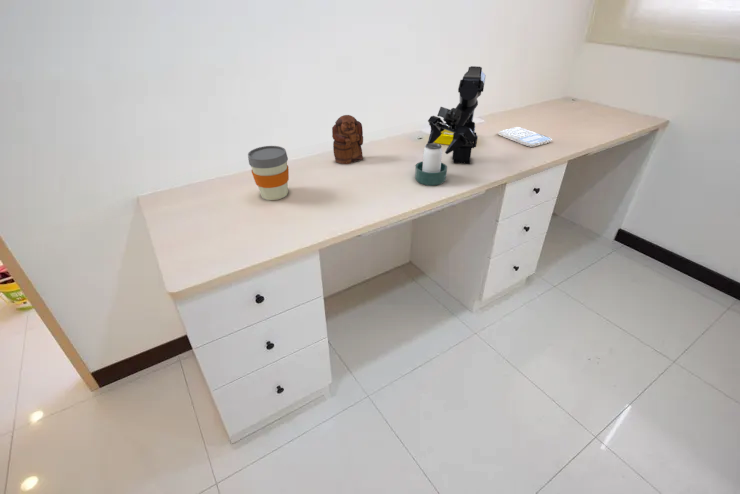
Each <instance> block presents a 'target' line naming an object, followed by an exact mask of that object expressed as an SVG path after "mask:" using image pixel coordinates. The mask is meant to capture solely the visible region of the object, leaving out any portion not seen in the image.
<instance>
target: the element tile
mask: <svg viewBox="0 0 740 494" xmlns="http://www.w3.org/2000/svg"><path fill="white" fill-rule="evenodd" d="M448 128H449V127H448ZM441 133H442V134H441V135H440V136H439V137H438V138H437V139H436V140H435V141H434V142H433V143H436V144H440V145H446V146H449V145H450V144H451V142H452V141H453V134H454V133H453V132H450V131H448V130H445V129H444V131H442V132H441Z"/></svg>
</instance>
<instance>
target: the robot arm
mask: <svg viewBox="0 0 740 494" xmlns="http://www.w3.org/2000/svg"><path fill="white" fill-rule="evenodd" d="M485 82H486V74H485V73H484V72H483V67H482V66H475V65H474V66H473V65H472V66H471V65H470V66H468V69H467V71H466V72H465V73H464V75H463V76H462V79H460V80H459V85H458V89H457V91H458V93H459V102H458V104H457V105H456V107H452V108H451V109H449V108H446V107H443V106H440V108H439V110H438V113H437V114H436V115H431V116H430V117H429V119H428V120H427V122H428V125H429V126H430V133H429V137H428V140H427V143H426V144H429V143H434V141H435V140H436V139H437V138H438V137H439V136H440V135H441V134H442V133H441V132H442V131H444V129H445V130H448V131H450V132H453V133H454V134H453V141H452V142H451V144H450V145H447V148H446V150H445V152H444V154H446V155H448V154H450V153H452V156H451V159H452V161H453V163H454V164H465V165H466V164H468V165H469V164H471V157H472V150H473V149H475V148H477V143H478V137H479V136H478V135H477V132H476V122H475V121H473V120H474V115H475V110H476V108H477V107H478V104H479V101H478V98H479V97H481V95H482V92H484V88H485V84H486V83H485ZM441 118H442V119H441ZM448 127H449V128H448Z"/></svg>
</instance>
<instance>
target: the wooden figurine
mask: <svg viewBox="0 0 740 494" xmlns="http://www.w3.org/2000/svg"><path fill="white" fill-rule="evenodd" d="M363 130H364V129H363V124H362V123H361V122H360V121H359V120H357V119H356V117H355V116H353V115H350V114H343V115H341V116H340V117H339V118H337V119H336V120H335V124H334V125H332V127H331V138H332V139H333V143H332V146H333V147H332V150H333V156H334V160H335V162H336V163H338V164H342V165H350V164H351V163H356V162H358V161H361V160H363V159H364V158H363V156H364V155H363V149H362V146H363V144H364V136H363V134H364V131H363Z"/></svg>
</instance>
